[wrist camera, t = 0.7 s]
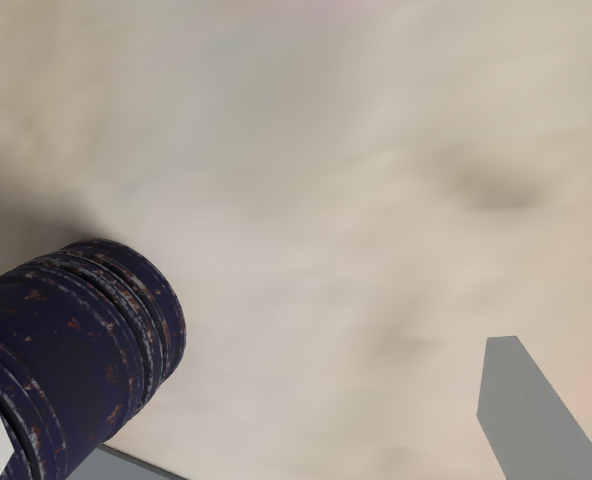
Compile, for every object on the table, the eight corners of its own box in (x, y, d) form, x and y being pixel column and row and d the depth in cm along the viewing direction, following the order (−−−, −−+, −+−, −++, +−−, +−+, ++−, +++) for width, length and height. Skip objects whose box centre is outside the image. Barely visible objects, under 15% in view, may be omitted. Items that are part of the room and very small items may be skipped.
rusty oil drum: (56, 206, 29) (-309, 338, 15) (208, 285, 27) (-44, 508, 14) (32, 342, 33) (-271, 541, 19) (163, 417, 31) (-65, 687, 18)
